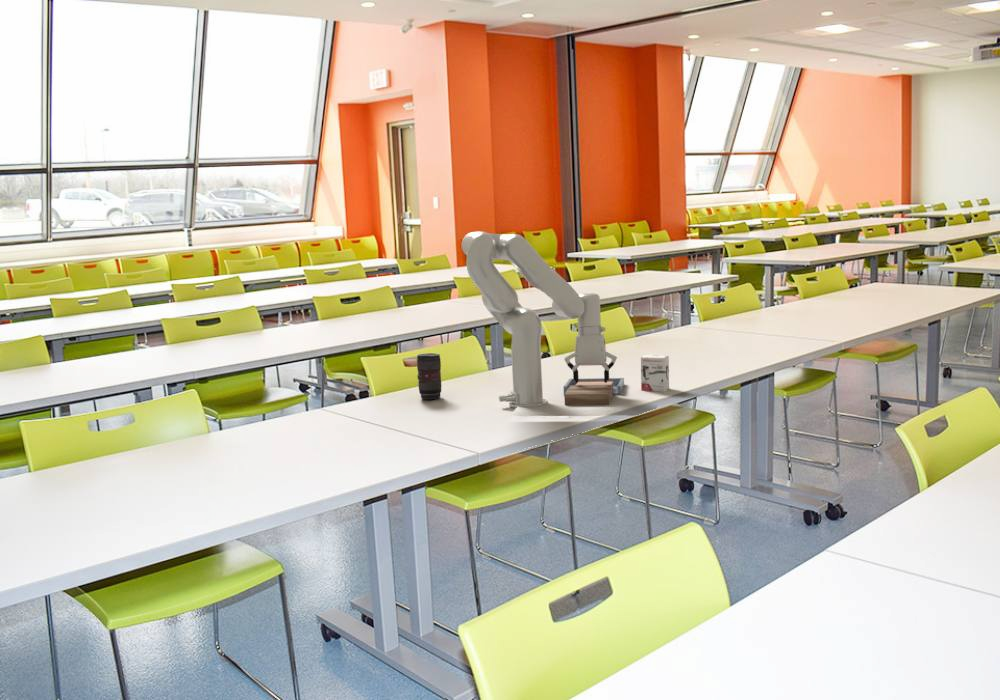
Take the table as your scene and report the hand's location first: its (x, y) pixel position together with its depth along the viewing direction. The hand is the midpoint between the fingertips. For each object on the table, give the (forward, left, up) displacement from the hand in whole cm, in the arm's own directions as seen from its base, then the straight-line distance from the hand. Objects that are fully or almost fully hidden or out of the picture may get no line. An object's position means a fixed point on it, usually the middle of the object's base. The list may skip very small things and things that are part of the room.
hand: (591, 382), depth 298 cm
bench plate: (-4, -6, -4) cm, 9 cm away
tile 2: (+4, +6, -1) cm, 7 cm away
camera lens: (-48, +28, -5) cm, 56 cm away
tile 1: (+1, +2, -4) cm, 5 cm away
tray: (+4, +7, -4) cm, 10 cm away
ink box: (+22, -3, -5) cm, 23 cm away
